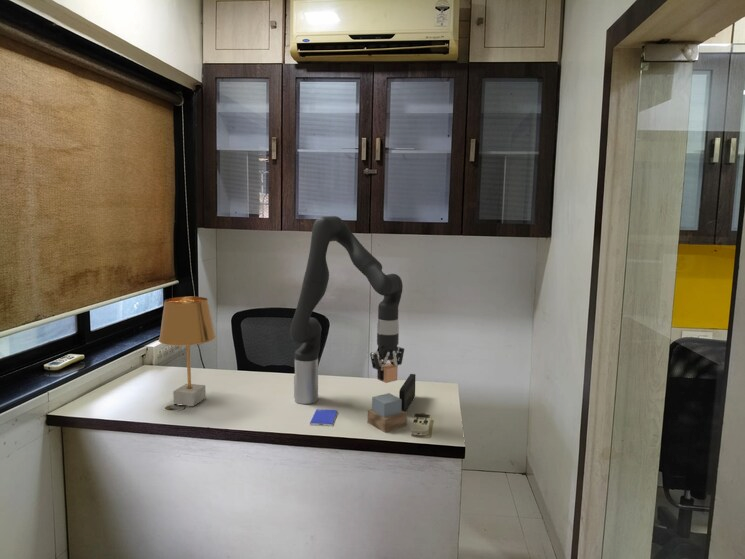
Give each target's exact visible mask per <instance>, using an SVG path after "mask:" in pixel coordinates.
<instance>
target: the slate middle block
mask: <svg viewBox="0 0 745 559" xmlns="http://www.w3.org/2000/svg"><path fill="white" fill-rule="evenodd" d="M371 398H372V399H371V409H372V411H374V412H375V413H377V414H379V415H380V416H382V417H388V416H392V415H396V414H400V413H401V405H402V400H401V399H400V398H399V397H397V396H396V395H393V394H391V393H389V392H388V393H384V394H380V395H375V396H372V397H371Z"/></svg>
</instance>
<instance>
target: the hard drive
mask: <svg viewBox="0 0 745 559" xmlns="http://www.w3.org/2000/svg"><path fill="white" fill-rule="evenodd" d="M337 414H338V409H323V408H317V409H315V411H314V413H313V416H312V418H311V419H310V422H309V426H318V425H321V426H322V427H323V426H324V427H333V425H334V423H335V421H336V417H337Z"/></svg>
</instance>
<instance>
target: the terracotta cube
mask: <svg viewBox="0 0 745 559" xmlns="http://www.w3.org/2000/svg"><path fill="white" fill-rule="evenodd" d="M398 366H399V365H398ZM398 366H395V365H392V364H391V363H390V362H389V363H388V362H386V364H385V366H384V369H383V370H384V380H383V381H381V380H379V379H378V377H377V376H378V370H377V369H376V371H377V373H376V374H377V376H376V377H377V380H379V381H381V382H383V383H386V384H388V383H393V382H396V381H398V369H399V368H398Z"/></svg>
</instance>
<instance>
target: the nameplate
mask: <svg viewBox="0 0 745 559" xmlns="http://www.w3.org/2000/svg"><path fill="white" fill-rule="evenodd" d="M398 396H399V397H398V398H400V399H401V400H402V405H401V410H402V411H404V412H406V411H407V412H408V409H409V408H410V407H411V405H410V404H412V403H413V401H414V400H413V399H415V398H414V397H416V374H415V373H410V374H409V375H408V377H407V379H406V380H405V381H404V383H403V384H402V386H401V387H400V388H399V395H398ZM407 412H406V413H407Z"/></svg>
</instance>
